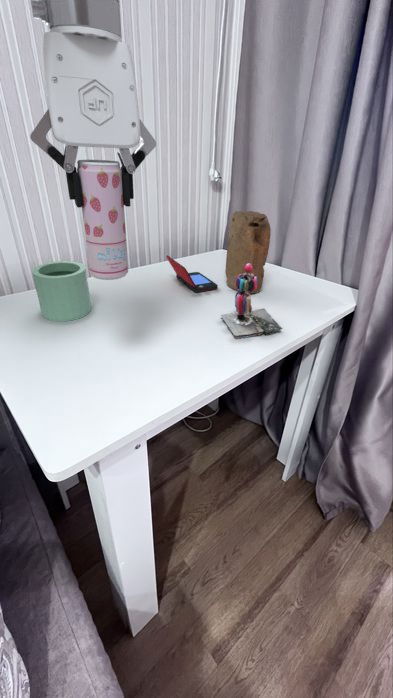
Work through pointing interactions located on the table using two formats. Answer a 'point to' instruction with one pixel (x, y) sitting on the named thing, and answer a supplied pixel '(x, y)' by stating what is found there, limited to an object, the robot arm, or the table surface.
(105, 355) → the table surface
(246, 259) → the block
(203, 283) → the handheld console
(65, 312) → the jar
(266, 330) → the statue
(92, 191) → the beverage can
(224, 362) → the table surface
